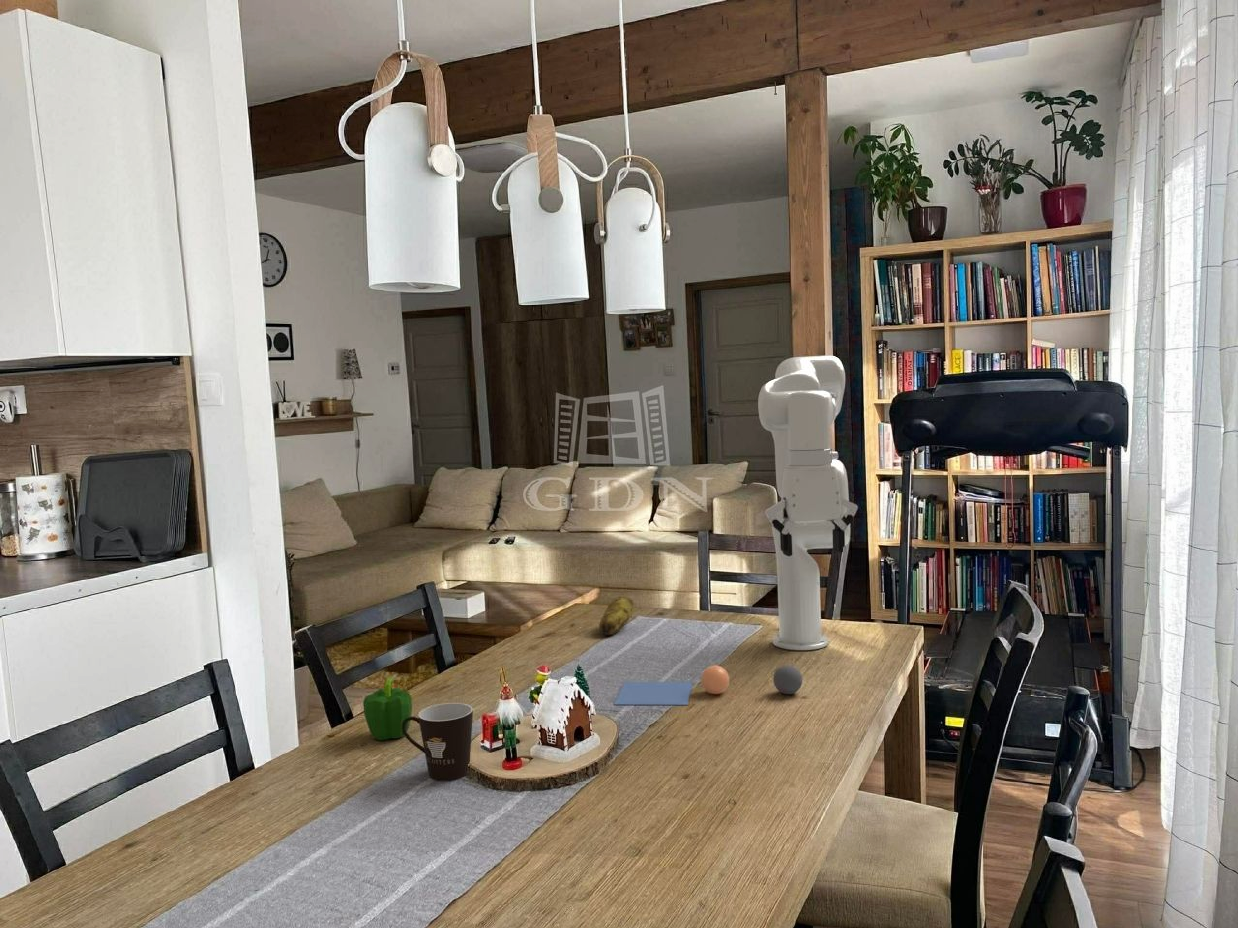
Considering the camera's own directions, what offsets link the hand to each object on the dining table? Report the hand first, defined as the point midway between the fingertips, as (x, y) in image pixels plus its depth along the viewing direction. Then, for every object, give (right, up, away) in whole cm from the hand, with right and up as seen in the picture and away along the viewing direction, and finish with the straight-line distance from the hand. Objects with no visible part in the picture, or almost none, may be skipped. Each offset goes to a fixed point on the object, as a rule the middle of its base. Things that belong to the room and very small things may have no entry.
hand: (812, 553), depth 170 cm
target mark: (-28, -29, +14) cm, 43 cm away
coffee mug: (-64, -33, -20) cm, 74 cm away
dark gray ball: (-3, -25, +10) cm, 28 cm away
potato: (-36, -26, +65) cm, 79 cm away
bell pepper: (-76, -33, -3) cm, 83 cm away
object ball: (-17, -26, +12) cm, 33 cm away
